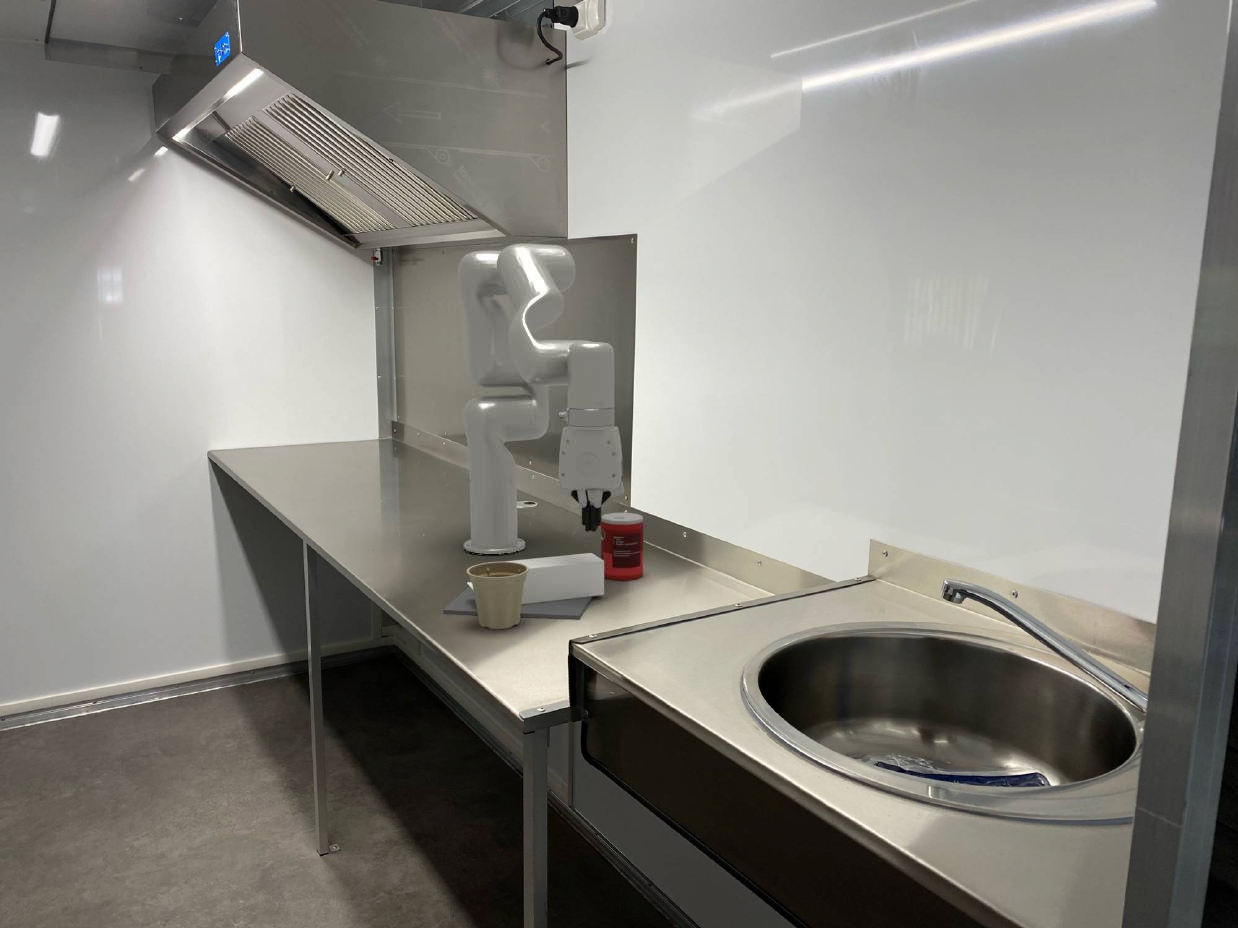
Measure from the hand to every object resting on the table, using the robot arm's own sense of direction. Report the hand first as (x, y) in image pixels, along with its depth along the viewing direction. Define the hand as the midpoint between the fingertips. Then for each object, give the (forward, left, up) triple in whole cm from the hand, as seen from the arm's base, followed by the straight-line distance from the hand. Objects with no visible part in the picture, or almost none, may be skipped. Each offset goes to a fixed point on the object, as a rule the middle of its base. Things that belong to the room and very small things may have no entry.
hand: (591, 529), depth 152 cm
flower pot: (+14, -12, -12) cm, 22 cm away
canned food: (-17, +3, -12) cm, 21 cm away
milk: (-4, 0, -8) cm, 10 cm away
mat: (0, -11, -12) cm, 17 cm away
